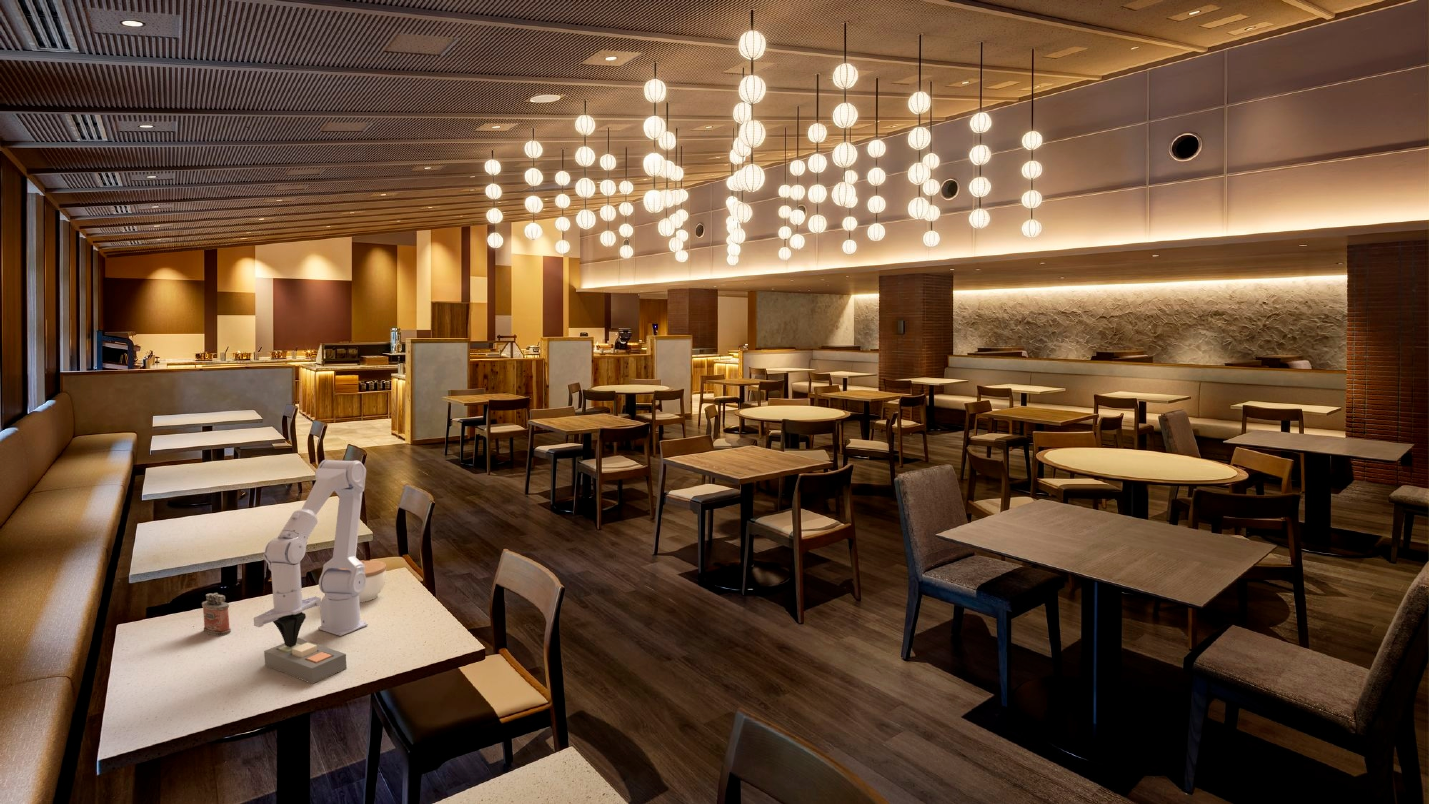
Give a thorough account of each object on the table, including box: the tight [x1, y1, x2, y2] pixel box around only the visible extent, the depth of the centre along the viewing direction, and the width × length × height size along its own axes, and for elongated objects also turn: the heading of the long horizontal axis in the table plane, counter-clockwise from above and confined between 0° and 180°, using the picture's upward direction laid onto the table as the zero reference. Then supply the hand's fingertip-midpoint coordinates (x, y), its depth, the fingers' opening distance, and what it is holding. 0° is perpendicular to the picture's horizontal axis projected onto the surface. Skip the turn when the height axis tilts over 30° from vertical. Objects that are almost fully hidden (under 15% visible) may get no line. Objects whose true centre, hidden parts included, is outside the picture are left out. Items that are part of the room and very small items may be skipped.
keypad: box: [263, 637, 347, 685], centre depth 163 cm, size 18×8×4 cm, turn 62°
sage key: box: [278, 643, 300, 653], centre depth 166 cm, size 4×4×2 cm
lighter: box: [201, 592, 231, 637], centre depth 182 cm, size 8×3×10 cm, turn 68°
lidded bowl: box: [338, 559, 387, 603], centre depth 205 cm, size 13×13×11 cm
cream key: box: [292, 642, 317, 658], centre depth 163 cm, size 4×4×2 cm
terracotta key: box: [307, 652, 332, 664], centre depth 161 cm, size 4×4×2 cm
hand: (290, 645), depth 166 cm, fingers closed
